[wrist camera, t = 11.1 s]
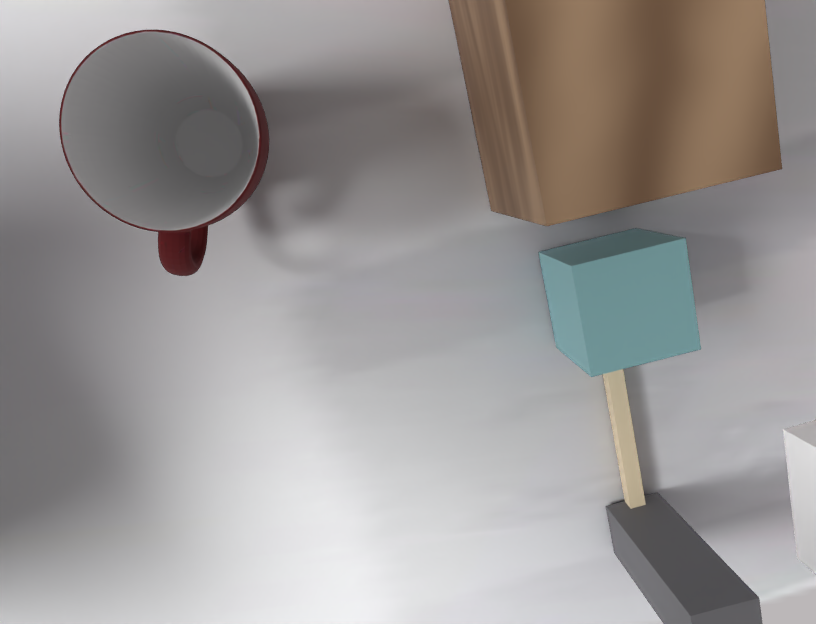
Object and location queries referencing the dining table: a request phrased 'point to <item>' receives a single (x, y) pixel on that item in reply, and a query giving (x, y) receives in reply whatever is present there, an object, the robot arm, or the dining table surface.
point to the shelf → (615, 100)
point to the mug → (164, 138)
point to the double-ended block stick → (609, 354)
